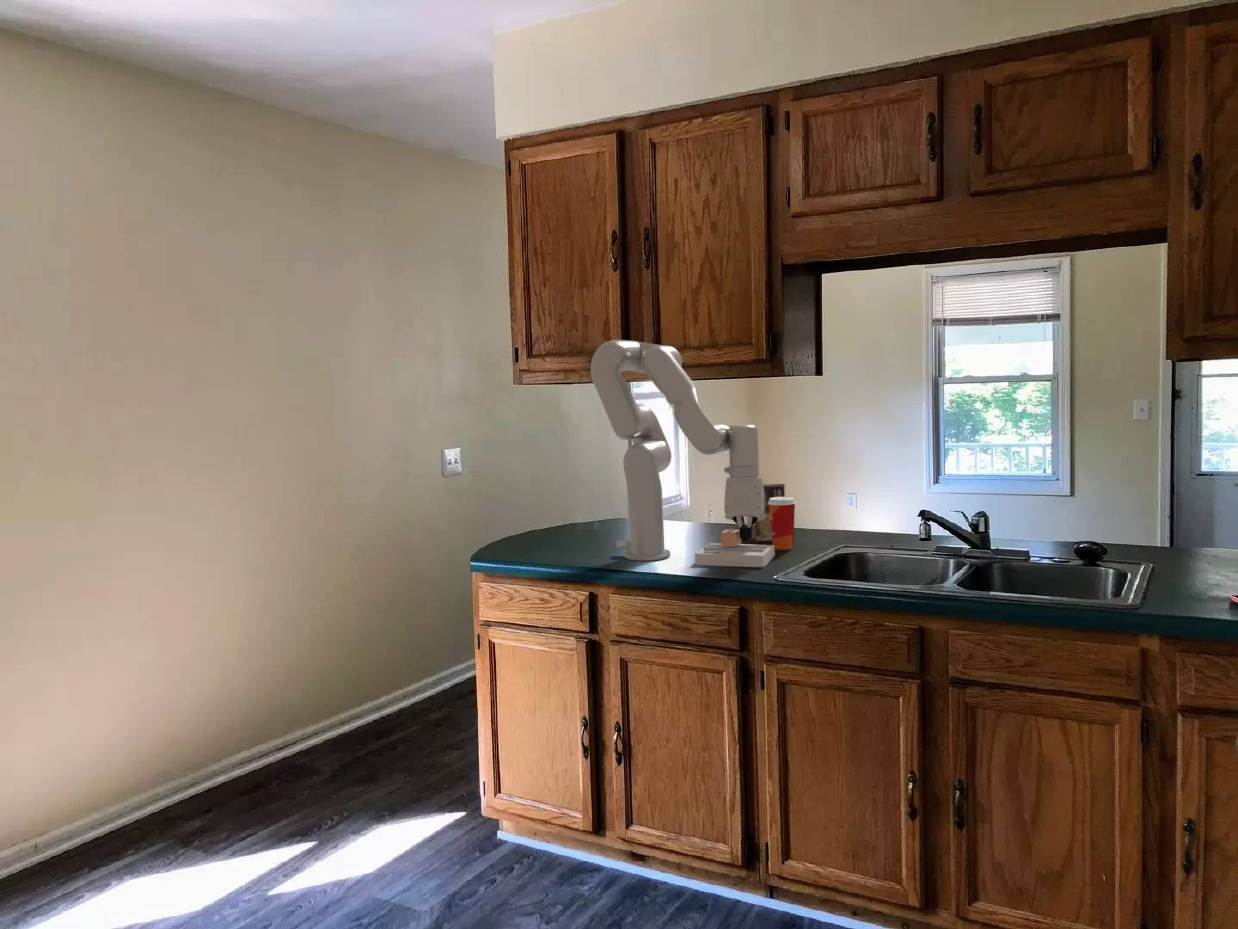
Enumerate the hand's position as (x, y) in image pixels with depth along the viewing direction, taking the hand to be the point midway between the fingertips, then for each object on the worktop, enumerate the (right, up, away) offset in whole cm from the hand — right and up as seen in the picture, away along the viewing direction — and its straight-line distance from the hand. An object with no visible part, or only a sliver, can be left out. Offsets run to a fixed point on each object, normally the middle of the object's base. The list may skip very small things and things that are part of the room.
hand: (746, 541), depth 243 cm
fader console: (-3, -5, +2) cm, 6 cm away
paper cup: (+12, -3, +15) cm, 20 cm away
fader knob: (-4, -2, +2) cm, 5 cm away
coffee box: (+11, -2, +29) cm, 31 cm away
